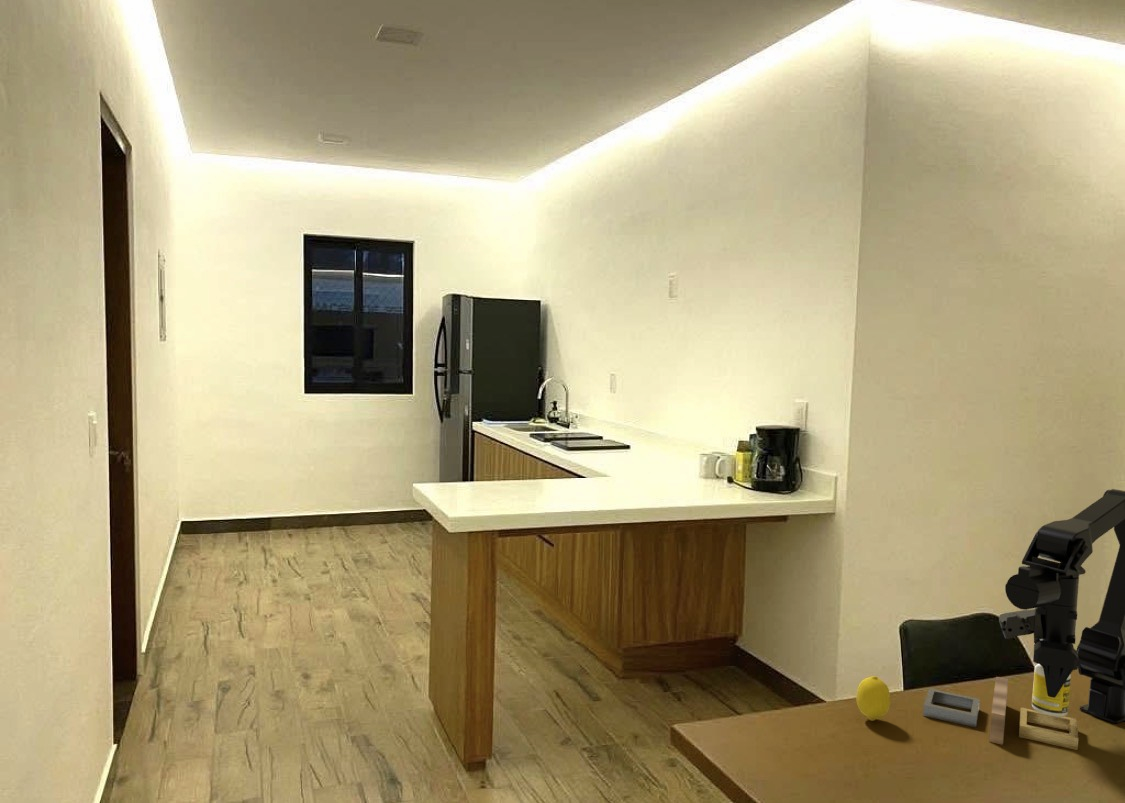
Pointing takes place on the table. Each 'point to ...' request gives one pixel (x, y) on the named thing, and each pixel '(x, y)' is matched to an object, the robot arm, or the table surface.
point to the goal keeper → (1045, 734)
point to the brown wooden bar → (998, 711)
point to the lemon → (873, 698)
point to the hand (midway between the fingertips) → (1051, 690)
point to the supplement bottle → (1043, 701)
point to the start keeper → (949, 713)
